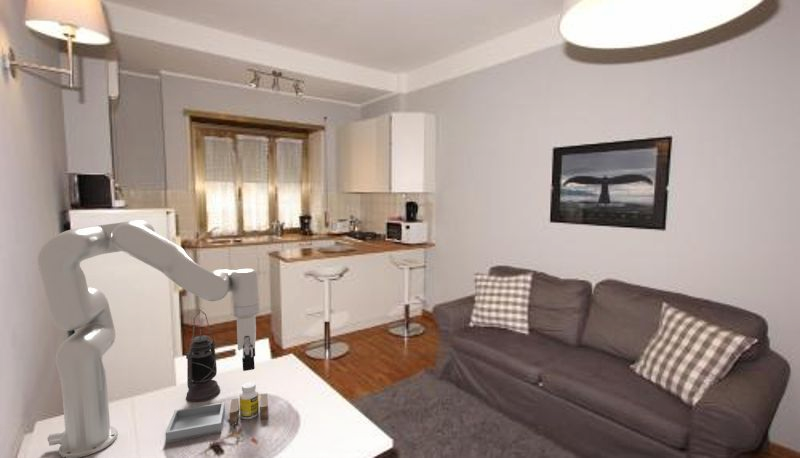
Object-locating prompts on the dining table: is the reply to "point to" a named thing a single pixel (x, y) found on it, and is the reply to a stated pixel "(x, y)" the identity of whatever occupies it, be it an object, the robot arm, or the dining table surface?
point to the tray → (195, 422)
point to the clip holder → (235, 409)
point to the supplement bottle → (249, 401)
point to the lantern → (201, 368)
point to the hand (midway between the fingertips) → (249, 363)
